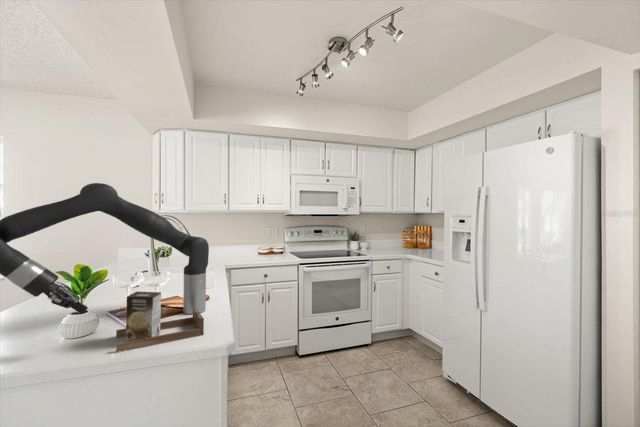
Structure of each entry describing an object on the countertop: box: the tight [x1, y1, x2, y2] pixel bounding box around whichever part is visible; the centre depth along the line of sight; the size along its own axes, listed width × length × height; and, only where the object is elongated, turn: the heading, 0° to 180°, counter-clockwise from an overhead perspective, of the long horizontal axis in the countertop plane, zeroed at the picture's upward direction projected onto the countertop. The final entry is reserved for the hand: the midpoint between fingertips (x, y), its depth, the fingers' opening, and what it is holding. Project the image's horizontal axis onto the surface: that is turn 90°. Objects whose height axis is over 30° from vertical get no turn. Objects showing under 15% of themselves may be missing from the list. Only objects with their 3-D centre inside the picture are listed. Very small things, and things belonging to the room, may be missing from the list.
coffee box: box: [125, 291, 162, 342], centre depth 107 cm, size 9×6×16 cm
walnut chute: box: [115, 308, 205, 353], centre depth 110 cm, size 14×27×6 cm, turn 123°
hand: (85, 310), depth 98 cm, fingers closed
